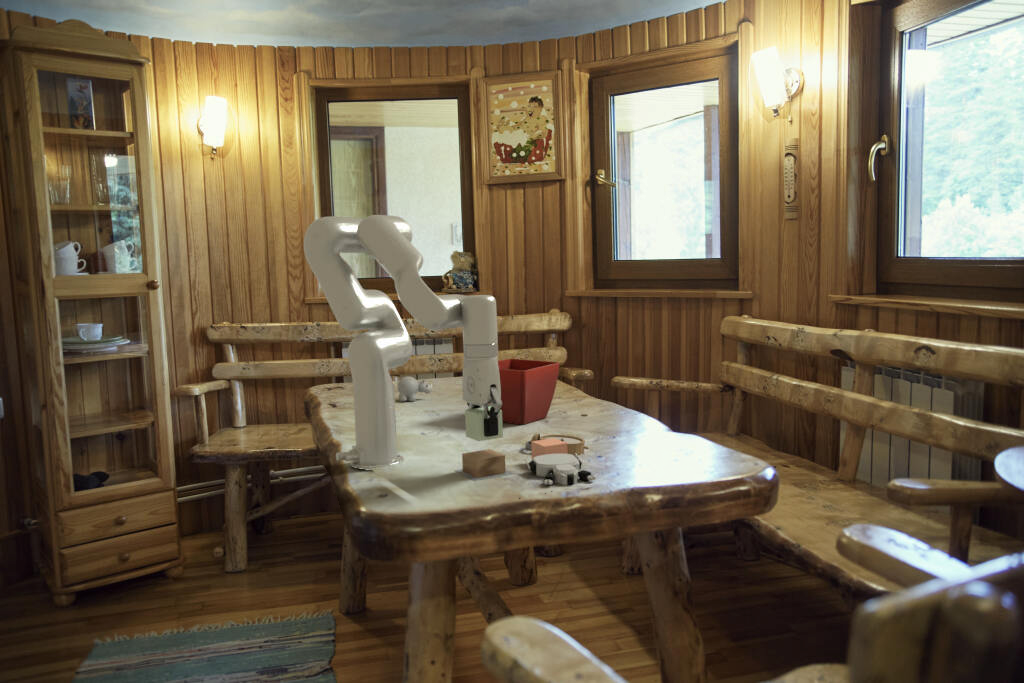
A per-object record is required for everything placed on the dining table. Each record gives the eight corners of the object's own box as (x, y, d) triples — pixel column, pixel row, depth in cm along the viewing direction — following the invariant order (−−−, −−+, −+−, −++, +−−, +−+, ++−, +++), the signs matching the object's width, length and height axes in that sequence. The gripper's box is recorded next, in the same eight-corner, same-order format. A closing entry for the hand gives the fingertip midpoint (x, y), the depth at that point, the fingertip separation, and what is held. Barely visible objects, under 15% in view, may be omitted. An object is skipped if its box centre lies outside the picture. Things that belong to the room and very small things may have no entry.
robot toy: (599, 491, 164) (575, 468, 179) (599, 470, 164) (575, 449, 178) (543, 497, 161) (523, 473, 176) (543, 476, 161) (523, 454, 175)
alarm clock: (593, 443, 191) (535, 438, 187) (590, 463, 191) (532, 458, 187) (576, 434, 202) (521, 429, 197) (573, 453, 202) (518, 448, 198)
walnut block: (477, 478, 170) (476, 459, 169) (462, 471, 176) (462, 453, 175) (505, 473, 173) (505, 455, 173) (490, 466, 179) (489, 449, 179)
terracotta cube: (545, 472, 177) (544, 446, 176) (531, 467, 182) (531, 441, 181) (567, 468, 180) (567, 443, 179) (554, 463, 185) (553, 438, 184)
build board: (474, 485, 168) (474, 480, 168) (453, 475, 176) (453, 470, 176) (514, 478, 173) (514, 473, 172) (493, 468, 181) (492, 464, 181)
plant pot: (524, 428, 223) (523, 370, 221) (473, 421, 235) (471, 365, 233) (562, 417, 238) (561, 362, 236) (511, 411, 250) (510, 358, 248)
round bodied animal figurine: (433, 401, 271) (432, 376, 270) (398, 403, 269) (397, 378, 268) (431, 397, 278) (430, 373, 277) (397, 399, 276) (396, 375, 275)
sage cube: (478, 441, 169) (477, 413, 169) (466, 436, 174) (464, 409, 174) (502, 437, 172) (501, 410, 172) (489, 432, 177) (488, 406, 177)
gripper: (448, 350, 177) (451, 429, 179) (484, 356, 162) (487, 442, 164) (477, 347, 181) (481, 425, 183) (515, 353, 166) (518, 437, 168)
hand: (484, 432), depth 173 cm, fingers closed on sage cube, 6 cm apart
